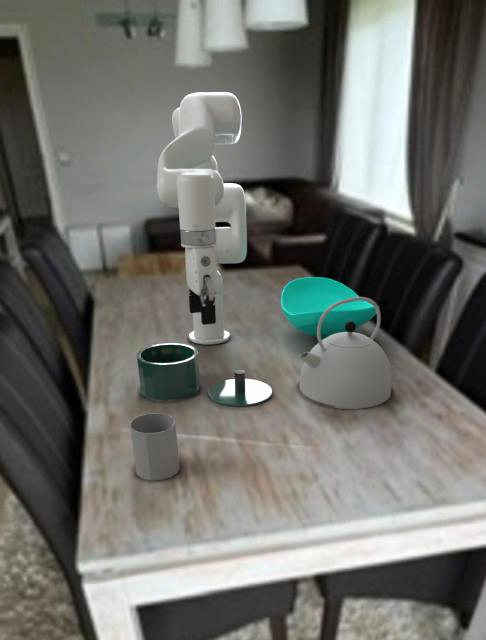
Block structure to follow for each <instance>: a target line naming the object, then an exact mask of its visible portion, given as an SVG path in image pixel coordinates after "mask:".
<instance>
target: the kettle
mask: <svg viewBox="0 0 486 640" xmlns="http://www.w3.org/2000/svg"><path fill="white" fill-rule="evenodd" d="M352 301H366V302H368V303H370V304H371V305H373V306H374V307H375V309H376V312H377V314H376V325H375V329H374V330H373V332H372V334H371V336H370V337H368V336H367V335H365V334H363V333H361V332H360V333H359V332H355V331H356V329H357V328H356V324H355V323H354V322H353V321H348V322H347V323H346V324H345V330H346V331H347V332H341V333H336V334H333V335H330V336H329V337H327V338H325V339H321V336H320V329H321V325H322V322H323V319H324V318H325V316H326V315H327V314H328V313H329V312H330V311H331V310H332V309H333V308H335V307H337V306H339V305H341V304H344V303H348V302H352ZM378 306H379V305H378V304H377V303H376V302H375V301H374V300H373V299H371V298H369V297H365V296H359V297H355V298H349V299H345V300H342V301H339V302H337V303H335V304H333V305H331V306H330V307H329V308H328V309H326V311H325V312H324V313H323V314H322V316H321V318H320V320H319V322H318V326H317V337H316V338H317V344H315V345H314V347H312V349H311V350H310V351H303V352H302V353H301V354H300V355H299V359H300V360H302V361H303V364H302V367H301V371H300V379H299V389H300V391H301V392H302V394H303V395H304V396H305V397H307V398H309V399H311V400H313V401H316V402H319V403H322V404H325V405H330V406H331V407H332V408H334V409H343V410H345V409H346V410H358V409H367V408H373V407H377V406H380V405H381V404H384V403H385V402H386V401H388V400H389V399H390V397H391V394H392V385H393V372H392V366H391V362H390V360H389V358H388V356H387V354H386V352H385V351H384V350H383V348H382V347H381V346H380V345H379V344H378V343H377V342H376V341H374V339H375V337H376V336H377V334H378V332H379V330H380V325H381V319H382V318H381V310H380V306H379V307H378Z"/></svg>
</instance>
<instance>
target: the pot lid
mask: <svg viewBox="0 0 486 640" xmlns="http://www.w3.org/2000/svg"><path fill="white" fill-rule="evenodd" d="M207 394H208V398H209V399H210V400H211V401H212V402H214V403H216V404H219V405H222V406H226V407H235V408H243V407H244V408H247V407H253V406H257V405H261V404H264V403H265V402H267V401H269V399H270V398H271V397H272V396H273V389H272V387H271V386H270V385H268V384H267V383H265V382H263V381H261V380H257V379H252V378H251V379H250V378H246V371H245V370H244V369H236V370H234V378H232V379H226V380H222V381H219V382H216V383H215V384H213V385H211V386H210V388H209V389H208V393H207Z"/></svg>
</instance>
